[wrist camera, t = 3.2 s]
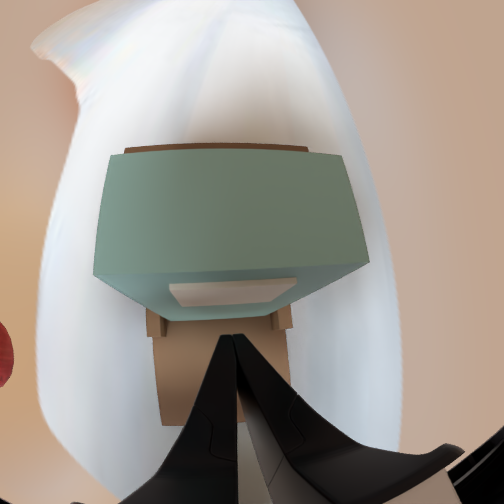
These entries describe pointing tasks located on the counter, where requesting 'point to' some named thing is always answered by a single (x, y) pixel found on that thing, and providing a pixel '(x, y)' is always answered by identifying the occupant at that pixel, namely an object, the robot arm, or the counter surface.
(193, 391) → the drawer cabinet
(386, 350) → the counter surface
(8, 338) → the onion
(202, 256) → the green rectangular block
